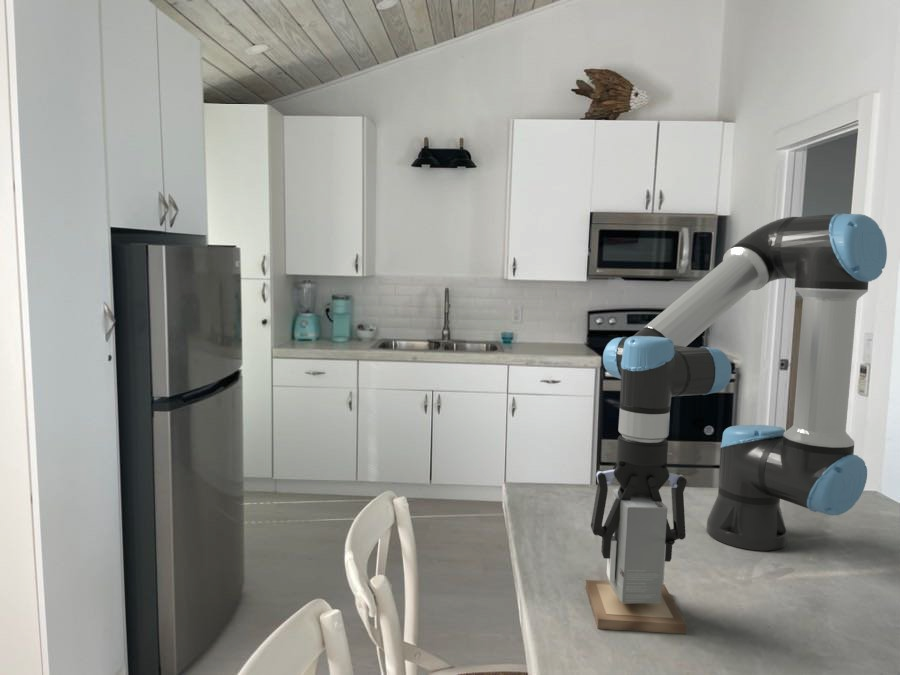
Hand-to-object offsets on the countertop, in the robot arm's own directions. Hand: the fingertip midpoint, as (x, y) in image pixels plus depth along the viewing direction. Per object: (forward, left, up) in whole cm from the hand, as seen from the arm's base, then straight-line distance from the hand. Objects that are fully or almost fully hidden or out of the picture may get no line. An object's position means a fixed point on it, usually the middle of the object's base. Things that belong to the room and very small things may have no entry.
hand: (634, 578), depth 108 cm
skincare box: (0, 0, -3) cm, 3 cm away
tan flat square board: (0, 0, -5) cm, 5 cm away
